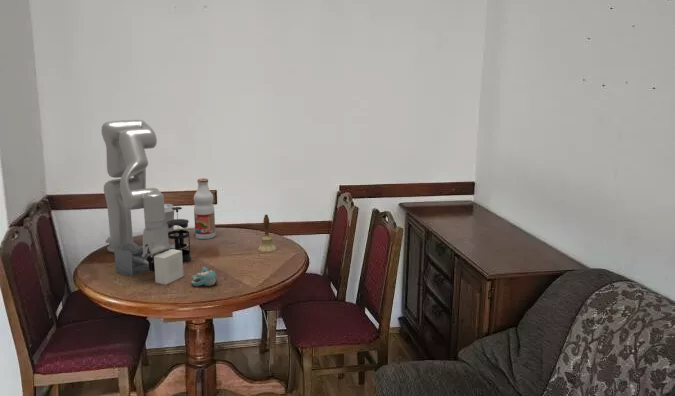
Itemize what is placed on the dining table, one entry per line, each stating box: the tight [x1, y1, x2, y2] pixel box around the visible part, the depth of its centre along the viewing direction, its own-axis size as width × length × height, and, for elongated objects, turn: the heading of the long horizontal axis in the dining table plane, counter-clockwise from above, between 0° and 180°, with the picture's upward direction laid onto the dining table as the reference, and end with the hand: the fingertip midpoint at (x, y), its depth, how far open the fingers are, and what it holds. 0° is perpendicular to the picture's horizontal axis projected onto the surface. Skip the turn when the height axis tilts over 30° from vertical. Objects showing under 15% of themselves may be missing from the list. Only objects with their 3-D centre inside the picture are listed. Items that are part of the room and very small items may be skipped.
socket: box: [154, 249, 184, 286], centre depth 234 cm, size 5×10×10 cm, turn 154°
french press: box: [167, 206, 192, 264], centre depth 255 cm, size 12×9×23 cm
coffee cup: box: [164, 203, 176, 236], centre depth 289 cm, size 10×10×15 cm
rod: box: [133, 253, 157, 267], centre depth 237 cm, size 19×5×5 cm, turn 64°
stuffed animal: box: [190, 266, 218, 287], centre depth 231 cm, size 11×7×12 cm
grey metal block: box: [114, 243, 149, 277], centre depth 242 cm, size 9×8×10 cm
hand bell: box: [257, 214, 277, 253], centre depth 270 cm, size 8×8×16 cm
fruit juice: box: [193, 177, 216, 240], centre depth 288 cm, size 9×9×28 cm
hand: (158, 268), depth 237 cm, fingers closed on rod, 5 cm apart
